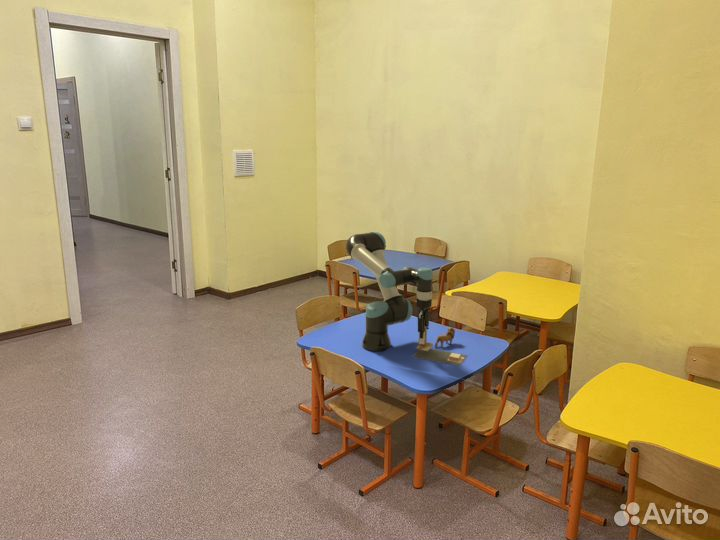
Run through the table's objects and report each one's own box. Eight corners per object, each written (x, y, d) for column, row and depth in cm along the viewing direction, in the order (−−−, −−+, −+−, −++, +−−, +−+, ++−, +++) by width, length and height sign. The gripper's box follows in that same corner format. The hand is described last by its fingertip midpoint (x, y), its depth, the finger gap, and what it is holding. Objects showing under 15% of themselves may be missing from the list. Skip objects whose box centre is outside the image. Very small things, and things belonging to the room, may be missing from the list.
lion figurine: (448, 341, 292) (449, 325, 290) (456, 343, 289) (457, 328, 286) (432, 348, 282) (432, 332, 280) (440, 351, 279) (441, 335, 276)
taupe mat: (412, 358, 270) (412, 357, 270) (421, 348, 282) (421, 347, 282) (461, 367, 260) (461, 365, 260) (467, 356, 272) (467, 355, 272)
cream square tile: (448, 359, 267) (448, 356, 266) (451, 356, 271) (451, 352, 271) (458, 361, 265) (458, 358, 264) (461, 357, 269) (461, 354, 269)
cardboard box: (416, 348, 270) (417, 328, 268) (422, 342, 278) (423, 323, 276) (427, 351, 268) (428, 330, 265) (433, 344, 276) (434, 325, 273)
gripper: (426, 304, 259) (425, 349, 265) (436, 295, 273) (434, 338, 279) (411, 302, 262) (410, 346, 268) (422, 293, 276) (420, 336, 282)
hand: (422, 342), depth 273 cm, fingers closed on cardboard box, 3 cm apart
